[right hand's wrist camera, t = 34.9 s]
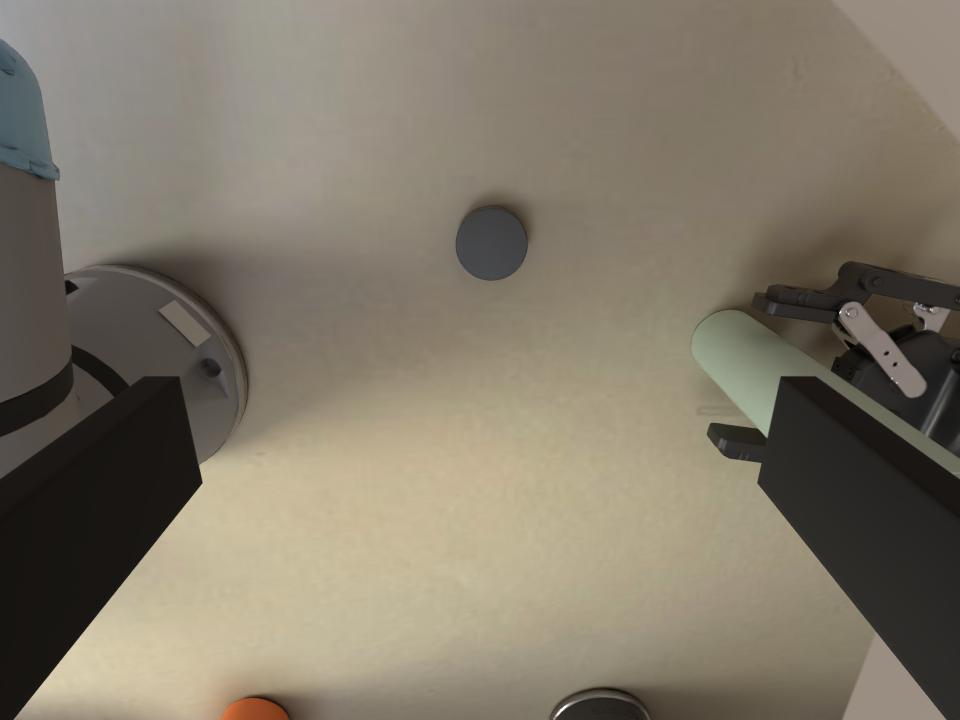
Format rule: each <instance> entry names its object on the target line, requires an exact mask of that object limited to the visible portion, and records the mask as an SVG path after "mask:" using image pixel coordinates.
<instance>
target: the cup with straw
mask: <svg viewBox="0 0 960 720" xmlns="http://www.w3.org/2000/svg"><path fill="white" fill-rule="evenodd" d="M221 720H289V718H288V716H287V714H286V713H285V711H284V710H283V709H282V708H281V707H279V706H278V705H276V704H274V703H272V702H270V701H267V700H264V699H258V698H247V699H242V700H239V701H236V702H234V703H233V704H231V705H230V706H229V707H228V708H227V710H226V711H225V713H224V715H223V716H222V718H221Z"/></svg>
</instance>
